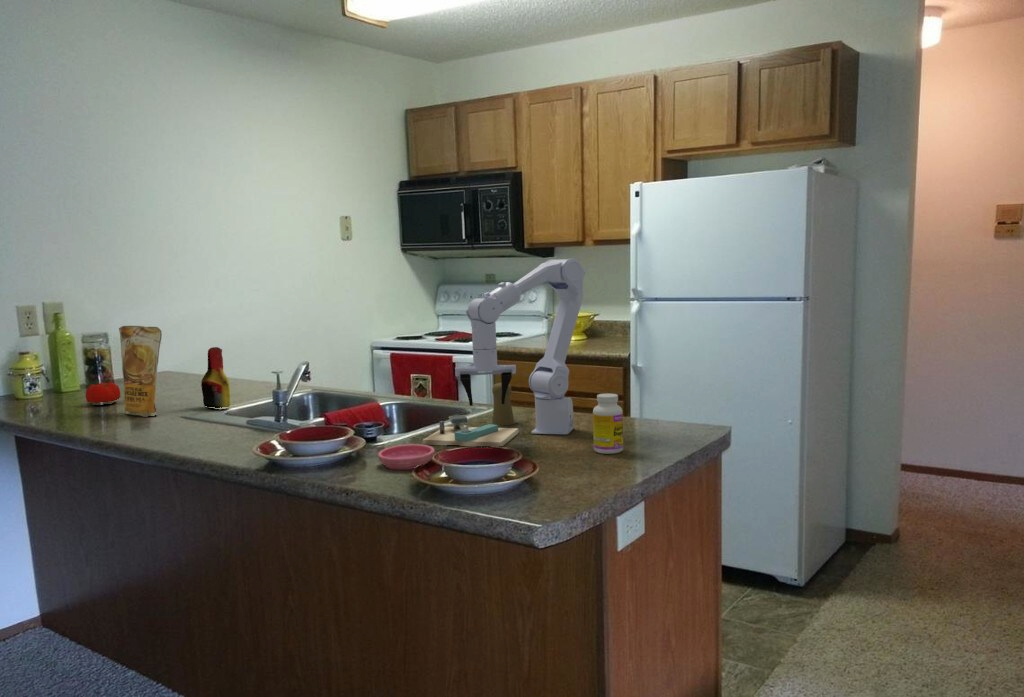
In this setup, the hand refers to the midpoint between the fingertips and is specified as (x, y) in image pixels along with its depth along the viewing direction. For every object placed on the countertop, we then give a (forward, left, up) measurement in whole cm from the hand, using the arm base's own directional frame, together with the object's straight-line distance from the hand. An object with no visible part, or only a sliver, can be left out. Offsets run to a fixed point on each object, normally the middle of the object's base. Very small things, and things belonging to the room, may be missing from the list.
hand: (487, 404), depth 184 cm
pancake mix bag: (+122, -22, -10) cm, 124 cm away
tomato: (+151, -36, -10) cm, 156 cm away
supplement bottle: (-30, +4, -10) cm, 32 cm away
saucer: (+12, +21, -10) cm, 26 cm away
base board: (+6, -3, -9) cm, 11 cm away
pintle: (+5, +2, -8) cm, 10 cm away
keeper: (+12, -7, -9) cm, 17 cm away
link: (+3, -2, -8) cm, 9 cm away
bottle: (+103, -33, -10) cm, 108 cm away
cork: (+3, -22, -10) cm, 24 cm away
